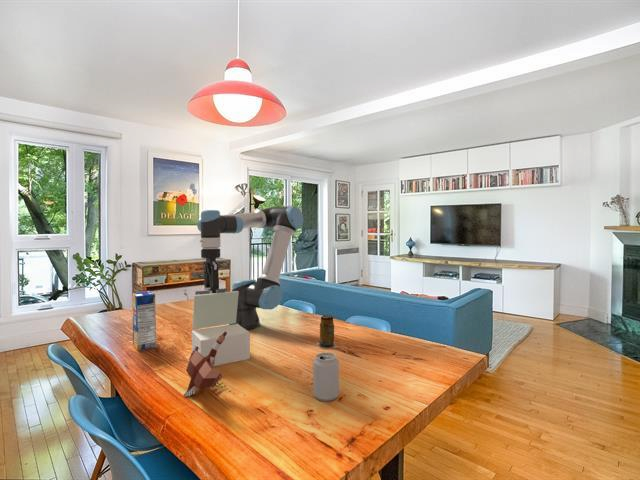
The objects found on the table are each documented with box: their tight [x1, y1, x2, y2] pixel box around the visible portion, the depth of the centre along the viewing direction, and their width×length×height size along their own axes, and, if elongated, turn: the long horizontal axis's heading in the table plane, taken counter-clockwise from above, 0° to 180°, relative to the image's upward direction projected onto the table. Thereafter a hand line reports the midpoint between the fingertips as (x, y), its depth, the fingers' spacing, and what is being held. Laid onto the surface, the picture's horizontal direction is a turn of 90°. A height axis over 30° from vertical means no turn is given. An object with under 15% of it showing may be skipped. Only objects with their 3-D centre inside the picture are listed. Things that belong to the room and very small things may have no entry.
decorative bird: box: [183, 332, 227, 398], centre depth 106 cm, size 28×18×15 cm, turn 33°
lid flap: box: [192, 287, 239, 330], centre depth 141 cm, size 17×14×9 cm
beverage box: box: [131, 290, 157, 352], centre depth 146 cm, size 7×11×22 cm, turn 36°
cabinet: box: [191, 324, 251, 367], centre depth 133 cm, size 18×14×10 cm
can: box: [312, 352, 340, 402], centre depth 102 cm, size 8×8×12 cm
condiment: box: [316, 314, 339, 350], centre depth 147 cm, size 7×8×12 cm
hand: (211, 304), depth 143 cm, fingers open, 6 cm apart
